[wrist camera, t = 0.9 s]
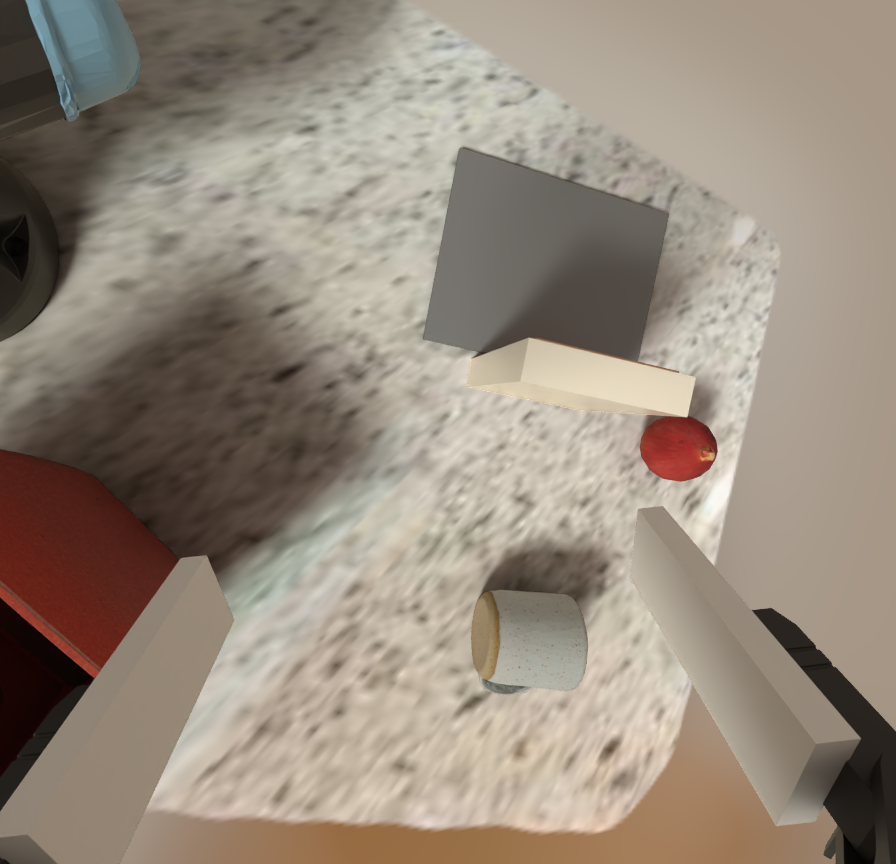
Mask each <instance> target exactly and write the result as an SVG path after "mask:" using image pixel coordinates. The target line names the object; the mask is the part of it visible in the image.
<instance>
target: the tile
mask: <svg viewBox="0 0 896 864" xmlns="http://www.w3.org/2000/svg"><path fill="white" fill-rule="evenodd" d="M695 380H696V377H693V376H689V375H684V374H680V373H679V371H675V370H671V369H666V368H662V367H658V366H654V365H650V364H645V363H641V362H637V361H633V360H629V359H624V358H620V357H616V356H612V355H608V354H603V353H599V352H595V351H591V350H587V349H582V348H578V347H574V346H570V345H566V344H561V343H557V342H553V341H549V340H545V339H541V338H534V339H533V338H527V339H524V340H521V341H518V342H516V343H513V344H510V345H508V346H505V347H502V348H500V349H497V350H494V351H491V352H489V353H486V354H483V355H481V356H478V357H475V358H473V359H471V363H470V368H469V373H468V378H467V383H466V387H468V388H473V389H478V390H483V391H487V392H492V393H497V394H502V395H507V396H511V397H516V398H521V399H526V400H531V401H535V402H540V403H545V404H550V405H555V406H560V407H564V408H569V409H574V410H579V411H594V412H610V413H626V414H642V415H658V416H674V417H687V416H688V412H689V407H690V403H691V398H692V394H693V389H694V384H695Z"/></svg>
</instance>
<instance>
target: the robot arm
mask: <svg viewBox="0 0 896 864" xmlns="http://www.w3.org/2000/svg"><path fill="white" fill-rule="evenodd" d="M139 71H140V54H139V50H138V46H137V43H136V41H135V39H134V36H133V34H132V32H131V30H130V27H129V25H128V23H127V21H126V19H125V17H124V15H123V13H122V10H121V8H120V6H119V4H118V2H117V0H0V141H1V140H4V139H6V138H9V137H12V136H15V135H18V134H20V133H23V132H26V131H29V130H32V129H34V128H37V127H40V126H43V125H46V124H48V123H51V122H54V121H57V120H60V119H62V118H64V119H65V120H67V121H68V122H72V121H75V120H76V119H77V118H78V117H79V112H81V111H84V110H86V109H88V108H91V107H93V106H95V105H98V104H100V103H102V102H105V101H107V100H109V99H112V98H114V97H117V96H119V95H121V94H123V93H125V92H127V91H128V90H130V89H131V88H132V87H133V86H134V85H135V83H136V81H137V79H138V75H139ZM58 264H59V248H58V240H57V235H56V231H55V227H54V224H53V221H52V219H51V216H50V214H49V212H48V209H47V208H46V206H45V204H44V202H43V200H42V199H41V197H40V196H39V194H38V193H37V191H36V190H35V189H34V187H33V186H32V185H31V184H30V182H29V181H28V180H27V179H26V178H25V177H24V176H23V175H22V174H21V173H20V172H19V171H18V170H17V169H16V168H15V167H14V166H12V165H11V164H10V163H9V162H7V161H6V160H5V159H3V158H2V157H0V341H2V340H4V339H6V338H8V337H10V336H12V335H14V334H15V333H17V332H18V331H20V330H21V329H22V328H24V327H25V326H26V325H27V324H28V323H29V322H31V321H32V320H33V319H34V317H35V316H36V315H37V314H38V313H39V312H40V310H41V309H42V308H43V306H44V305H45V303H46V302H47V300H48V298H49V296H50V294H51V292H52V289H53V287H54V284H55V281H56V276H57V272H58ZM630 579H631V580H632V582H633V584H634V585H635V587H636V589H637V590H638V592H639V594H640V595H641V597H642V599H643V601H644V602H645V604H646V606H647V607H648V609H649V611H650V612H651V614H652V616H653V618H654V619H655V621H656V623H657V624H658V626H659V628H660V629H661V631H662V633H663V635H664V636H665V638H666V640H667V641H668V643H669V645H670V646H671V648H672V650H673V652H674V653H675V655H676V657H677V658H678V660H679V662H680V663H681V665H682V667H683V668H684V670H685V672H686V674H687V675H688V677H689V679H690V680H691V682H692V684H693V685H694V687H695V689H696V691H697V692H698V694H699V695H700V697H701V699H702V701H703V702H704V704H705V706H706V708H707V709H708V711H709V712H710V714H711V716H712V718H713V719H714V721H715V723H716V724H717V726H718V728H719V730H720V731H721V733H722V735H723V736H724V738H725V739H726V741H727V743H728V745H729V746H730V748H731V750H732V751H733V753H734V755H735V757H736V758H737V760H738V762H739V764H740V765H741V767H742V769H743V770H744V772H745V774H746V775H747V777H748V779H749V780H750V782H751V784H752V786H753V787H754V789H755V791H756V792H757V794H758V796H759V797H760V799H761V801H762V803H763V804H764V806H765V808H766V809H767V811H768V813H769V814H770V816H771V818H772V820H773V821H774V823H775V825H776V826H780V825H789V824H798V823H806V822H814V821H815V820H816V819H817V817H818V815H819V813H820V811H821V810H822V808H823V806H825V807H826V809H827V810H828V812H829V813H830V815H831V816H832V817H833V819H834V820H835V822H836V823H837V825H838V826H837V828H836V829H835V831H834V833H833V834H832V836H831V838H830V839H829V841H828V843H827V845H826V848H825V851H824V856H826V857H828V858H829V859H832V857H833V855H834V854H835V852H836V864H896V731H895V730H894V729H893V728H892V727H891V726H890V725H889V724H888V723H887V722H886V721H885V719H884V718H883V717H882V716H881V715H880V714H879V713H878V712H877V711H876V710H875V709H874V708H873V707H872V706H871V704H870V703H869V702H868V701H867V700H866V699H865V698H864V697H863V696H862V695H861V694H860V693H859V692H858V691H857V689H855V687H854V686H853V685H852V684H851V683H850V682H849V681H848V680H847V679H846V678H845V677H844V676H843V674H842V673H841V672H840V671H839V670H838V669H837V668H836V667H833V666H832V663H831V662H830V661H829V659H828V658H827V657H825V655H824V654H823V653H822V652H821V651H820V650H817V649H816V647H815V645H814V643H813V642H812V641H811V640H810V639H809V638H808V637H807V636H806V635H805V634H804V633H803V632H802V630H801V629H800V628H799V627H798V626H797V625H796V624H794V623H793V622H791V621H789V620H788V619H787V618H785V617H784V616H782V615H781V614H779V613H778V612H776V611H775V610H773V609H772V608H768V609H759V610H751V609H750V608H749V607H748V606H747V604H746V603H745V602H744V601H743V600H742V598H741V597H740V596H739V595H738V594H737V593H736V591H735V590H734V589H733V588H732V587H731V586H730V585H729V583H728V582H727V581H726V580H725V579H724V577H723V576H722V575H721V574H720V573H719V572H718V571H717V569H716V568H715V567H714V566H713V564H712V563H711V562H710V561H709V560H708V559H707V557H706V556H705V555H704V554H703V553H702V552H701V550H700V549H699V548H698V547H697V546H696V545H695V543H694V542H693V541H692V540H691V539H690V538H689V536H688V535H687V534H686V533H685V532H684V530H683V529H682V528H681V527H680V526H679V525H678V523H677V522H676V521H675V520H674V519H673V518H672V516H671V515H670V514H669V513H668V512H667V511H666V509H665V508H664V507H663V506H661V507H652V508H642V509H638V513H637V521H636V529H635V537H634V545H633V553H632V561H631V569H630ZM233 622H234V618H233V616H232V613H231V611H230V609H229V606H228V604H227V602H226V599H225V597H224V595H223V592H222V590H221V588H220V585H219V583H218V581H217V578H216V576H215V574H214V571H213V569H212V567H211V564H210V562H209V560H208V557H207V555H204V556H195V557H185V558H181V559H180V560H179V561H178V563H177V564H176V566H175V567H174V569H173V570H172V571H171V573H170V574H169V576H168V577H167V578H166V580H165V581H164V583H163V584H162V585H161V587H160V588H159V590H158V591H157V592H156V594H155V595H154V597H153V598H152V599H151V601H150V602H149V604H148V605H147V606H146V608H145V609H144V611H143V612H142V613H141V615H140V616H139V618H138V619H137V620H136V622H135V623H134V625H133V626H132V627H131V629H130V630H129V632H128V633H127V634H126V636H125V637H124V639H123V640H122V641H121V643H120V644H119V646H118V647H117V648H116V650H115V651H114V653H113V654H112V655H111V657H110V658H109V660H108V661H107V662H106V664H105V665H104V667H103V668H102V669H101V671H100V672H99V674H98V675H97V676H96V678H95V679H94V681H93V682H92V684H91V685H82V686H77V687H76V688H75V689H74V690H73V691H72V692H70V693H69V694H68V695H67V696H66V697H65V698H64V699H63V700H62V701H60V702H59V703H58V704H57V705H56V706H55V707H54V708H53V709H52V710H51V711H50V713H49V714H48V715H47V717H46V718H45V719H44V721H43V722H42V723H41V725H40V726H39V727H38V728H37V730H36V731H35V732H34V734H33V738H32V739H29V740H28V742H27V743H26V744H25V746H24V747H23V748H22V750H21V751H20V752H19V754H18V755H17V759H16V760H15V761H13V762H12V763H11V764H10V765H9V767H8V768H7V769H6V771H5V772H4V773H3V775H2V776H1V777H0V864H120V863H121V861H122V859H123V857H124V854H125V852H126V850H127V848H128V846H129V843H130V842H131V839H132V837H133V835H134V833H135V831H136V829H137V827H138V824H139V822H140V820H141V818H142V816H143V814H144V812H145V810H146V807H147V805H148V803H149V801H150V799H151V797H152V795H153V792H154V790H155V788H156V786H157V784H158V782H159V780H160V778H161V775H162V773H163V771H164V769H165V767H166V765H167V763H168V760H169V758H170V756H171V754H172V752H173V750H174V748H175V745H176V743H177V741H178V739H179V737H180V735H181V733H182V731H183V728H184V726H185V724H186V722H187V720H188V718H189V716H190V713H191V711H192V709H193V707H194V705H195V703H196V701H197V699H198V696H199V694H200V692H201V690H202V688H203V686H204V684H205V681H206V679H207V677H208V675H209V673H210V671H211V669H212V666H213V664H214V662H215V660H216V658H217V656H218V654H219V652H220V649H221V647H222V645H223V643H224V641H225V639H226V637H227V634H228V632H229V630H230V628H231V626H232V624H233Z"/></svg>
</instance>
